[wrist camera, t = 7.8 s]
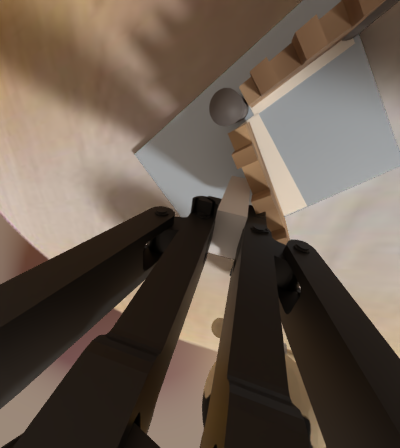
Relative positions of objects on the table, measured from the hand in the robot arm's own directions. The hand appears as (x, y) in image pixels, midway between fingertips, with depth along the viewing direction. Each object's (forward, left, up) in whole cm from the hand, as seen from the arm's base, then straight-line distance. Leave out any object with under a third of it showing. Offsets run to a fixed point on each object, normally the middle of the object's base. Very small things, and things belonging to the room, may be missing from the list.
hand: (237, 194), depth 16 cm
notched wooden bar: (-2, 0, -2) cm, 3 cm away
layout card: (-2, -2, -2) cm, 3 cm away
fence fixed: (-7, -5, -2) cm, 9 cm away
